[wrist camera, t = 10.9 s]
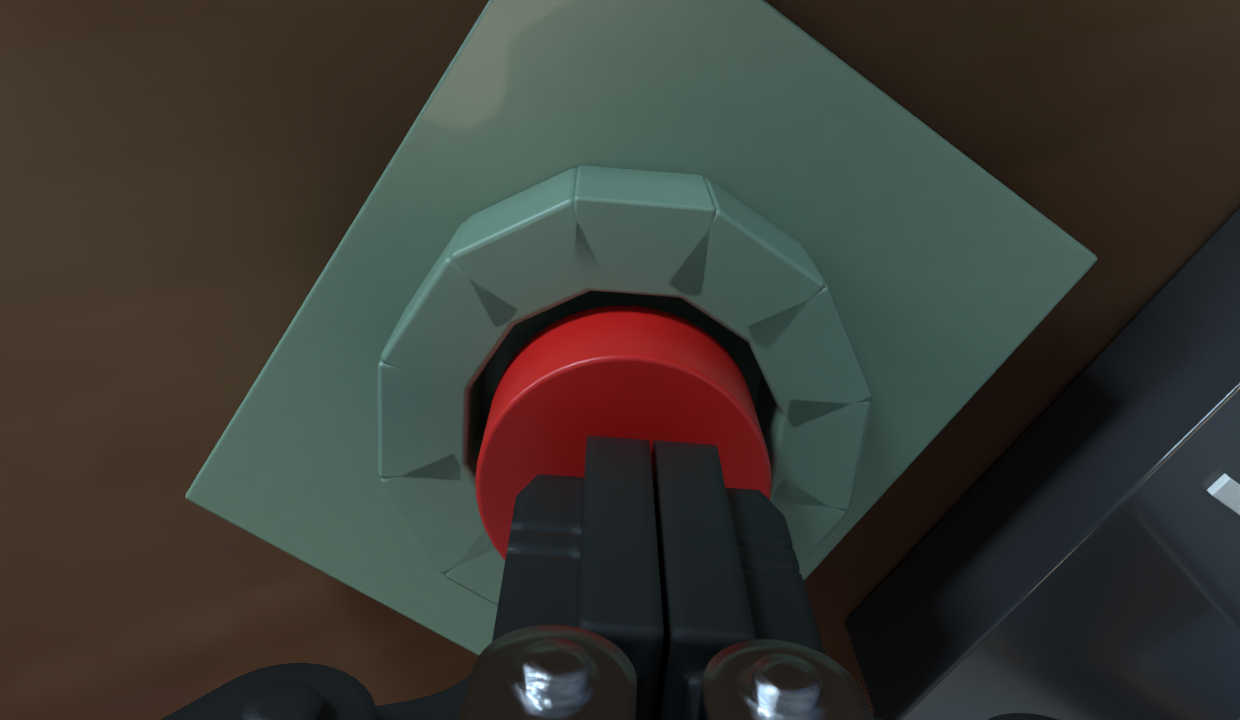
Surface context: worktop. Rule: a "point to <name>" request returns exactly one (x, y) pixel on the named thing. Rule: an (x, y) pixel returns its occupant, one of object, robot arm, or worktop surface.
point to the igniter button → (613, 403)
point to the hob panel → (1090, 541)
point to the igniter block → (631, 283)
